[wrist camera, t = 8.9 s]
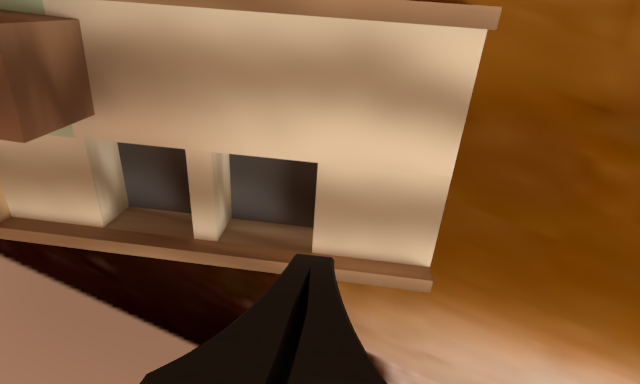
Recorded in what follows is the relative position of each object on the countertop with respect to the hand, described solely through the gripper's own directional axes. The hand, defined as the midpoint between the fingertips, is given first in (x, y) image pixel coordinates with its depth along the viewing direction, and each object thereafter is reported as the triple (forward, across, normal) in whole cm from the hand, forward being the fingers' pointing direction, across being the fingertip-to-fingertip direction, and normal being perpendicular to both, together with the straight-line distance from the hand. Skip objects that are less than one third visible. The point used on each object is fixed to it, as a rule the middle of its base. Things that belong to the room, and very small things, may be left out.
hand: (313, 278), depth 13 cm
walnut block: (+7, +14, -5) cm, 17 cm away
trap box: (+10, +7, -2) cm, 13 cm away
